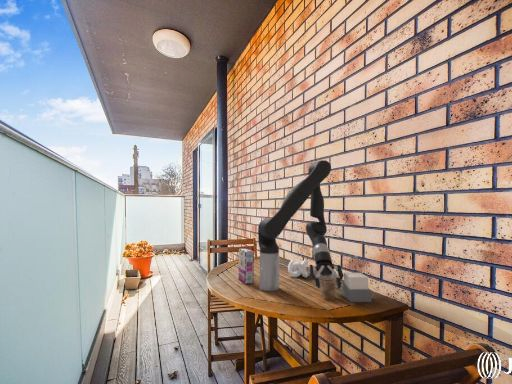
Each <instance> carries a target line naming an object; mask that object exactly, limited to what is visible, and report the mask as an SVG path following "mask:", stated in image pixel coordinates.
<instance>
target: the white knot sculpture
mask: <svg viewBox="0 0 512 384" xmlns="http://www.w3.org/2000/svg"><path fill="white" fill-rule="evenodd" d="M308 267H309V262H308V260H307V259H304V260H302V262H301V261H300V260H298V259H296V258H295V259H291V260H290V261H289V263H288V265H287V271H288V275H289V276H291V277H292V278H298V277H301V275H302V277H304V278H308V276H309V273H308V271H307V268H308Z"/></svg>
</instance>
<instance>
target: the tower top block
mask: <svg viewBox="0 0 512 384" xmlns="http://www.w3.org/2000/svg"><path fill="white" fill-rule="evenodd" d="M343 275H344V276H343V284H345V285H346V286H347V287H348V288H349V289H368V288H369V277H368V276H367V275H365V274H364V273H362V272H343Z"/></svg>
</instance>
